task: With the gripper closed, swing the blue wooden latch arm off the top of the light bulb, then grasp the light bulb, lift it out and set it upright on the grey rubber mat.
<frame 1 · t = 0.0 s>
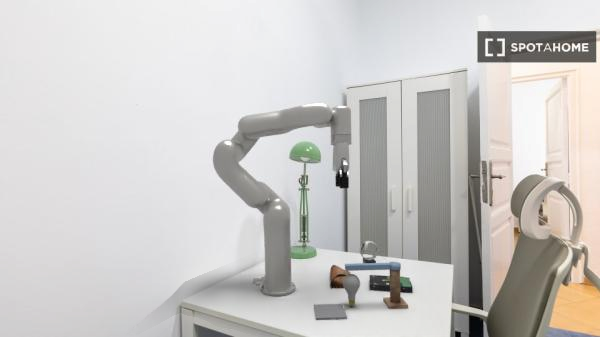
hand: (341, 187, 114), 37 cm above the table, tool pointing down, fingers open, 9 cm apart
disk drive: (390, 288, 115), on the table
light bulb: (351, 306, 100), on the table
sunglasses case: (341, 281, 123), on the table
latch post: (395, 304, 100), on the table
mat: (329, 312, 95), on the table
watch: (369, 266, 138), on the table
latch arm: (373, 266, 100), point 12 cm above the table, hinge at 0.0°
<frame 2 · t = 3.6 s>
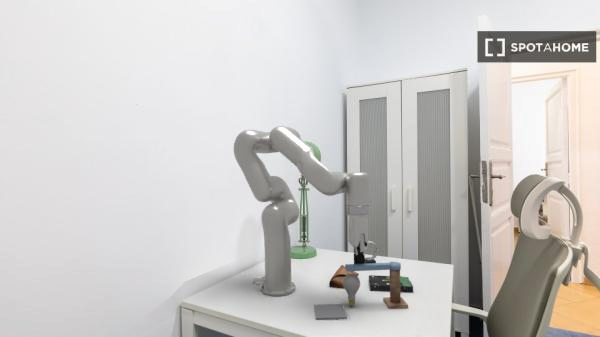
hand: (359, 266, 102), 12 cm above the table, tool pointing down, fingers closed
sunglasses case: (345, 281, 122), on the table
latch arm: (373, 266, 99), point 12 cm above the table, hinge at 2.4°, touching gripper
everything else where it was.
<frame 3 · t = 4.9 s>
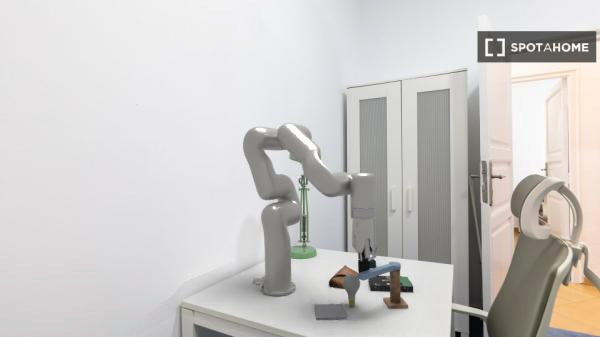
hand: (364, 273, 96), 12 cm above the table, tool pointing down, fingers closed
latch arm: (380, 270, 96), point 12 cm above the table, hinge at 34.7°, touching gripper
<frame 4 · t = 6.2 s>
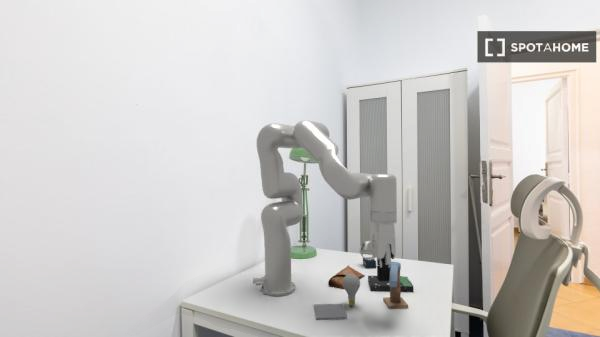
hand: (383, 280, 90), 11 cm above the table, tool pointing down, fingers closed
latch arm: (394, 273, 93), point 12 cm above the table, hinge at 70.1°, touching gripper
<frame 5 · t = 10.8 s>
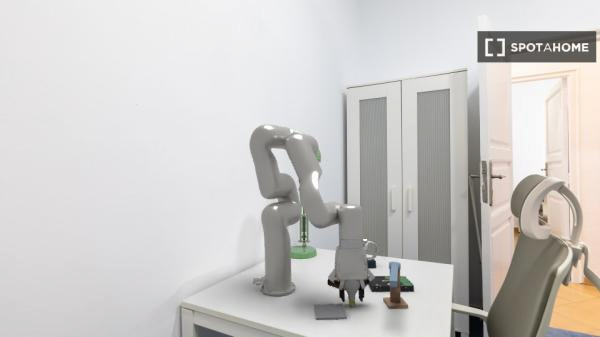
hand: (351, 299, 100), 2 cm above the table, tool pointing down, fingers closed on light bulb, 5 cm apart
light bulb: (351, 306, 100), on the table, touching gripper
sunglasses case: (351, 283, 120), on the table
latch arm: (394, 273, 93), point 12 cm above the table, hinge at 70.4°
everything else where it was.
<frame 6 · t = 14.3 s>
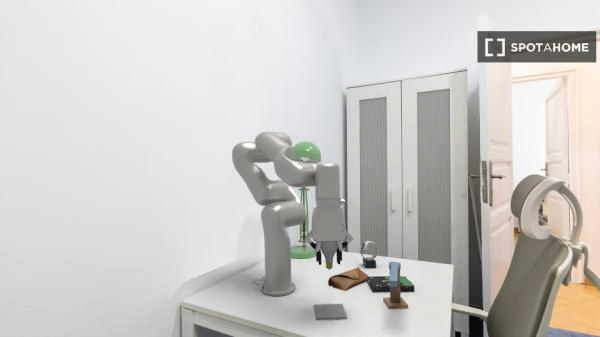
hand: (329, 262, 95), 15 cm above the table, tool pointing down, fingers closed on light bulb, 5 cm apart
light bulb: (329, 269, 95), point 13 cm above the table, touching gripper
when the fingers open (3 cm above the table, at t = 16.7 s): light bulb stays where it is, resting on mat.
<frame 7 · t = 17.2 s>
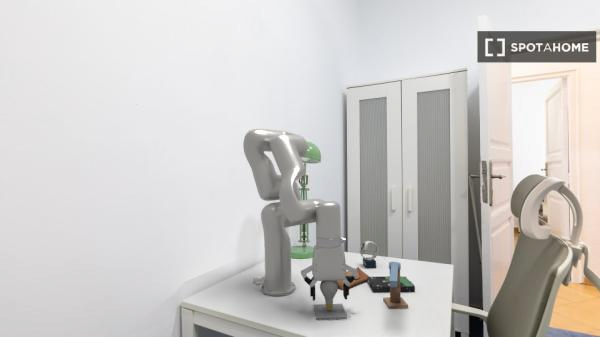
hand: (329, 298, 95), 4 cm above the table, tool pointing down, fingers open, 9 cm apart
light bulb: (329, 311, 95), resting on mat
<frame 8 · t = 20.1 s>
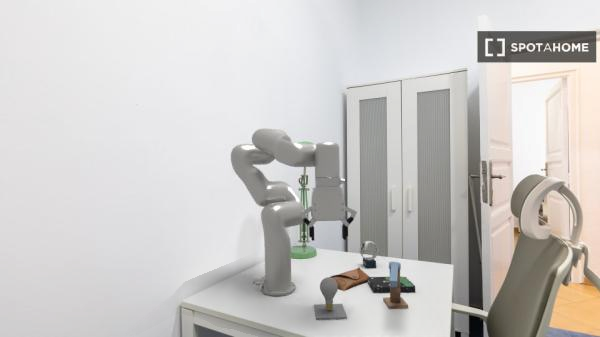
hand: (328, 239, 95), 22 cm above the table, tool pointing down, fingers open, 9 cm apart
at the end: latch arm at +70° (first picture: +0°); light bulb inside the target area on the mat (0.2 cm from its centre), point 0.3 cm above the mat's base; light bulb tilted 0° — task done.
